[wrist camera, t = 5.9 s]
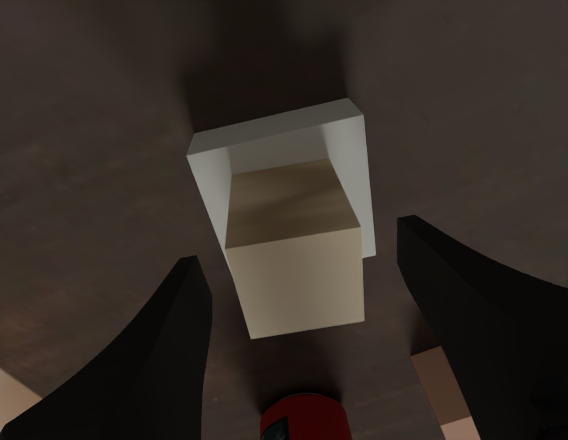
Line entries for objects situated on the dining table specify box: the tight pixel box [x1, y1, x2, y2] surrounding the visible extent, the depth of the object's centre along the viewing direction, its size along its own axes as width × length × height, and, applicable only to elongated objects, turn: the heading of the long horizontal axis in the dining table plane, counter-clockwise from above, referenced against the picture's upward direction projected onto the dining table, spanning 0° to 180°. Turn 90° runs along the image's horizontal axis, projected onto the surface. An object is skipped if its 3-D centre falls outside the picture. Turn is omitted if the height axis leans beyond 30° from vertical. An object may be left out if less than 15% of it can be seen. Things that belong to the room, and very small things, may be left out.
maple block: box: [225, 159, 364, 339], centre depth 14 cm, size 4×4×5 cm
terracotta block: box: [410, 346, 481, 440], centre depth 25 cm, size 4×4×5 cm
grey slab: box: [186, 98, 376, 277], centre depth 17 cm, size 7×7×3 cm
